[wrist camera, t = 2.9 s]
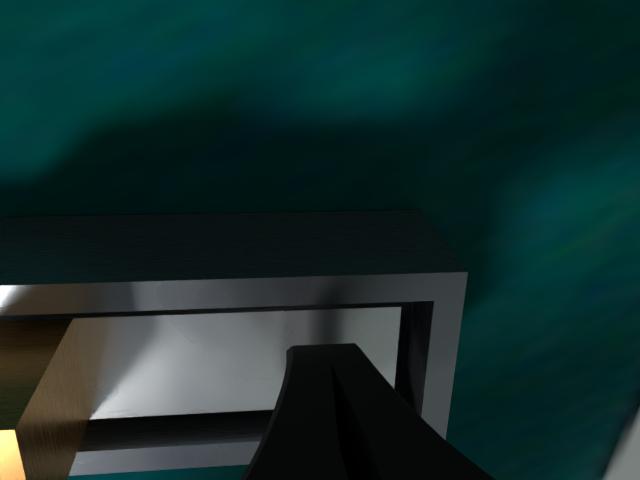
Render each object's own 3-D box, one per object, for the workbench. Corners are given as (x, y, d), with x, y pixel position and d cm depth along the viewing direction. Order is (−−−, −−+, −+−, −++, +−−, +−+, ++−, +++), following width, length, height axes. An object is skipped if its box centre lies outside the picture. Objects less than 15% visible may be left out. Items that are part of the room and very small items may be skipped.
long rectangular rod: (375, 351, 15) (432, 519, 10) (-145, 373, 14) (-352, 579, 9) (381, 264, 14) (447, 406, 9) (-178, 279, 13) (-427, 454, 8)
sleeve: (406, 361, 16) (443, 452, 13) (36, 378, 15) (-18, 480, 12) (421, 209, 14) (467, 272, 11) (4, 216, 13) (-70, 288, 10)
